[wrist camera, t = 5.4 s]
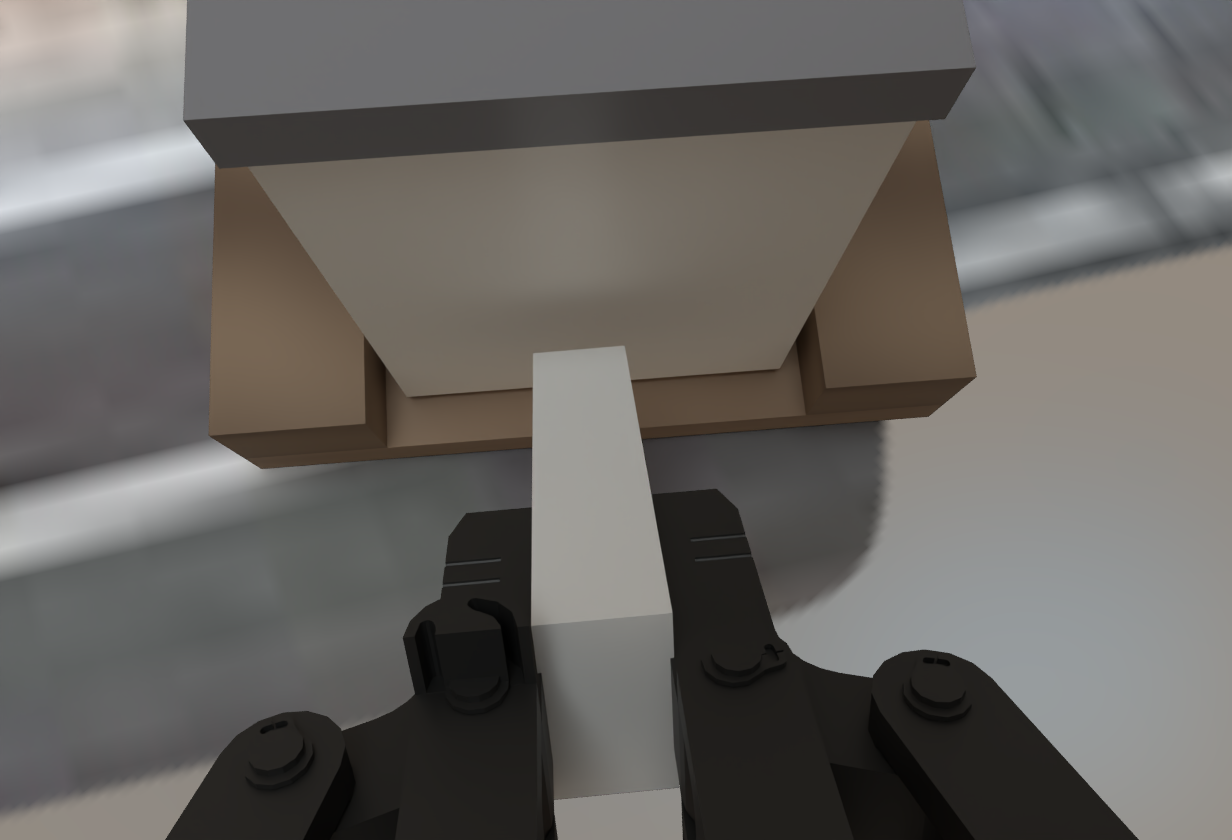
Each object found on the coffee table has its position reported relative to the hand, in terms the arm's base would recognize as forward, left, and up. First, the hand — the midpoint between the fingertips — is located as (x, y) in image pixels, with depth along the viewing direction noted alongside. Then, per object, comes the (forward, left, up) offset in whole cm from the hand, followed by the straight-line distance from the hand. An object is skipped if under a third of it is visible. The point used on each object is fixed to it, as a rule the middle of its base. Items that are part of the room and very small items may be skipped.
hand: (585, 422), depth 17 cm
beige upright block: (+4, -3, -4) cm, 6 cm away
